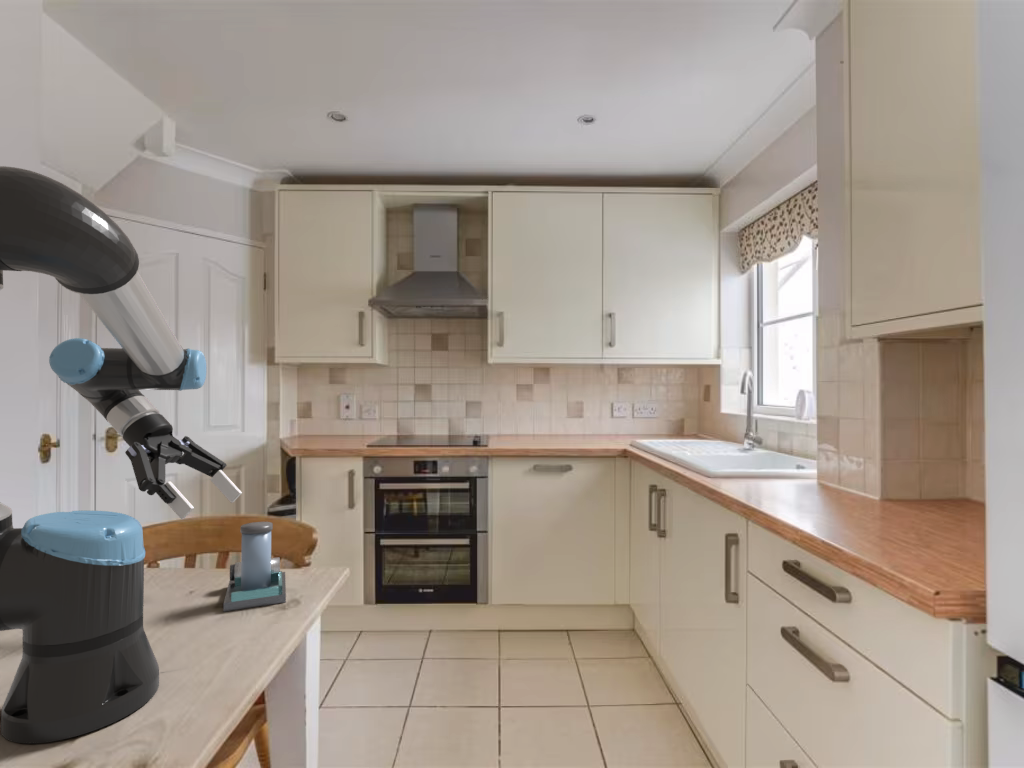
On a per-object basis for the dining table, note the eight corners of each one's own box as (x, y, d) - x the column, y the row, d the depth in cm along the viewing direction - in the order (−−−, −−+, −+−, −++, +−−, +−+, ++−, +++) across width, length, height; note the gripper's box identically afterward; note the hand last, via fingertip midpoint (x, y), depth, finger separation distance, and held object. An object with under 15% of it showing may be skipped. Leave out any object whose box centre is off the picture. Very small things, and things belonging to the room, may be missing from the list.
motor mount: (285, 602, 96) (285, 574, 96) (223, 611, 92) (223, 582, 92) (285, 579, 108) (285, 554, 108) (230, 586, 104) (230, 560, 104)
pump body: (271, 592, 97) (272, 526, 97) (238, 597, 94) (239, 529, 95) (271, 583, 102) (272, 520, 102) (240, 587, 99) (241, 523, 100)
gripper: (177, 433, 114) (241, 504, 112) (67, 445, 89) (148, 537, 87) (200, 409, 113) (265, 480, 111) (96, 414, 88) (177, 505, 86)
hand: (214, 505), depth 99 cm, fingers open, 13 cm apart
